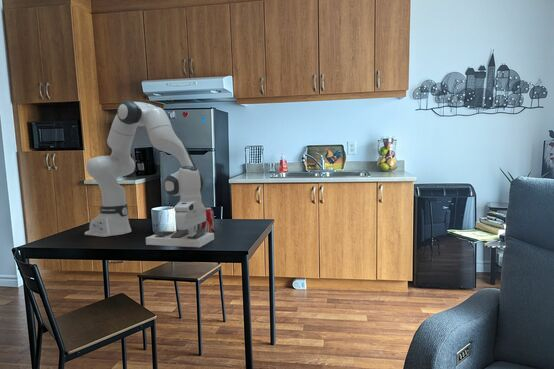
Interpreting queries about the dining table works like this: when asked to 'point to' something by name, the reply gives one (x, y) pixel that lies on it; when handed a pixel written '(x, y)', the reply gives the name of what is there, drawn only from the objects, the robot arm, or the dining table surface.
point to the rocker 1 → (163, 232)
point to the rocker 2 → (197, 234)
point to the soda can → (208, 221)
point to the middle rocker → (180, 233)
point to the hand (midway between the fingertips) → (192, 235)
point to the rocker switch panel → (179, 240)
